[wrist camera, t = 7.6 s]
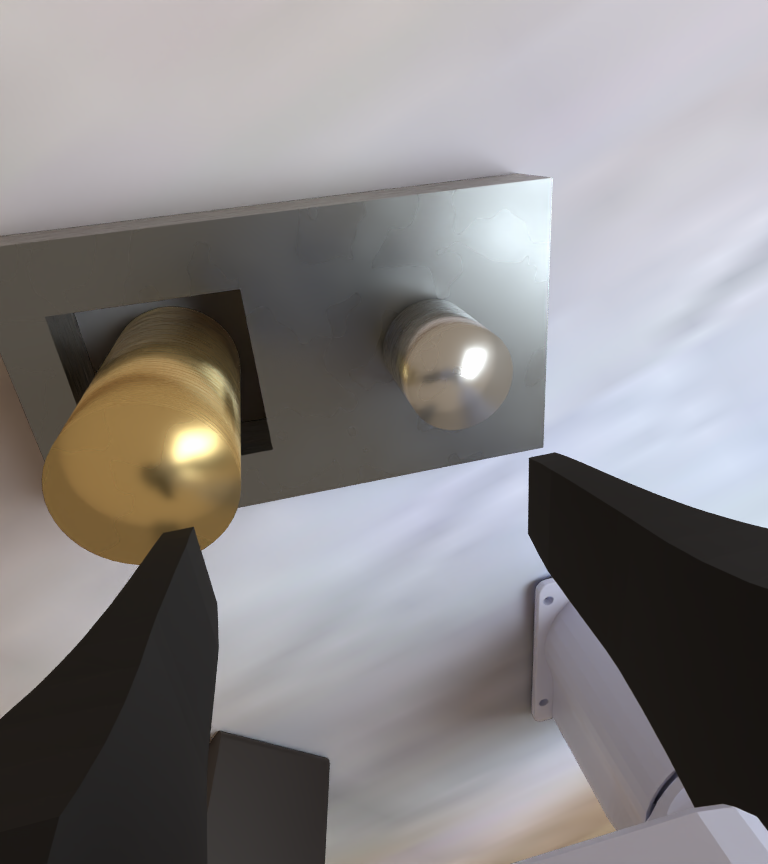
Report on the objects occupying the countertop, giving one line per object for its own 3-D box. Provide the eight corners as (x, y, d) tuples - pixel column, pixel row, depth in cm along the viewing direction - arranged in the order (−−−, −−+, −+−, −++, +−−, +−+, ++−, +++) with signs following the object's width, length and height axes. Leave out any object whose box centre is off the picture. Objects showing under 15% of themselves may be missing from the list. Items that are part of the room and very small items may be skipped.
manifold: (514, 418, 24) (586, 490, 19) (93, 498, 21) (51, 603, 16) (516, 173, 19) (609, 184, 15) (-6, 236, 17) (-102, 275, 12)
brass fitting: (252, 407, 21) (259, 540, 14) (137, 431, 20) (84, 583, 13) (222, 295, 19) (213, 385, 12) (95, 319, 19) (8, 428, 12)
